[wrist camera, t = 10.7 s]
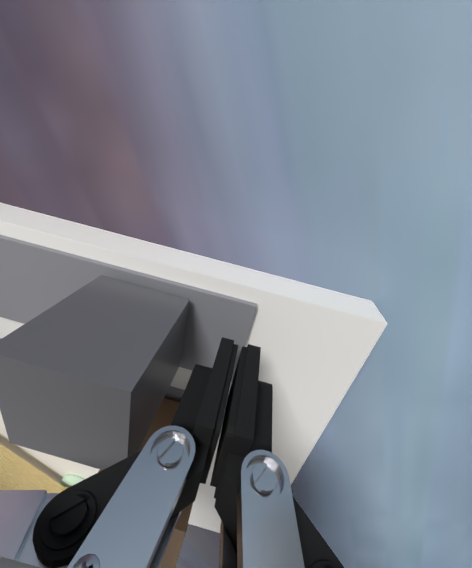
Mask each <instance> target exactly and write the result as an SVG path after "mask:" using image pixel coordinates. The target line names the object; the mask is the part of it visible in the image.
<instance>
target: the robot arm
mask: <svg viewBox="0 0 472 568" xmlns="http://www.w3.org/2000/svg"><path fill="white" fill-rule="evenodd" d="M237 350H238V345H236V344H234V340H231V339H227V338H224V337H222V339H221V342H220V345H219V348H218V352H217V355H216V358H215V361H214V365H213V368H210V367H206V366H202V365H198V364H195V366H194V368H193V371H192V373H191V376H190V378H189V381H188V383H187V386H186V388H185V391H184V393H183V396H182V398H181V401H180V403H179V406H178V408H177V411H176V413H175V416H174V418H173V421H172V423H171V426H166V427H163V428H160V429H159V430H158V431H156V432H155V433H154V434H153V435H152V436H151V437H150V438H149V440H148V441H147V443H146V445H145V446H144V448H143V449H142V450H141V451H139V452H137V453H135V454H133V455H131V456H129V457H127V458H125V459H123V460H121V461H120V462H118V463H116V464H114V465H112V466H110V467H108V468H106V469H104V470H102V471H100V472H98V473H96V474H94V475H92V476H90V477H88V478H86V479H84V480H83V481H81V482H79V483H77V484H75V485H73V486H71V487H69V488H67V489H65V490H64V491H62V492H61V493H47V491H46V490H0V568H159V566H160V563H161V561H162V558H163V556H164V553H165V551H166V548H167V546H168V543H169V541H170V538H171V536H172V534H173V531H174V529H175V526H176V524H177V521H178V519H179V516H180V514H181V511H182V510H183V509H185V508H186V507H187V506H189V505H190V504H191V503H193V502H194V501H195V499H196V495H197V492H198V488H199V484H200V483H202V484H206V480H207V477H208V473H209V470H210V467H211V463H212V460H213V456H214V453H215V449H216V446H217V443H218V439H219V436H220V439H219V444H218V449H217V454H216V458H215V463H214V468H213V473H212V478H211V483H210V486H213V487H216V489H215V494H214V498H215V499H216V500H215V506H214V507H215V509H216V511H217V513H218V515H219V517H220V518H221V525H220V551H219V568H344V567H343V565H342V564H341V563H340V561H339V560H338V558H337V557H336V556H335V554H334V553H333V552H332V550H331V549H330V547H329V546H328V545H327V543H326V542H325V540H324V539H323V538H322V536H321V535H320V533H319V532H318V531H317V529H316V528H315V527H314V525H313V524H312V522H311V521H310V520H309V518H308V517H307V515H306V514H305V513H304V511H303V510H302V509H301V507H300V506H299V504H298V503H297V502H296V500H295V499H294V497H293V496H292V491H291V485H290V479H289V475H288V472H287V469H286V467H285V466H284V464H283V462H282V461H281V460H280V459H279V458H278V457H277V456H276V455H275V454H273V453H272V402H273V386H272V384H270V383H266V382H262V381H258V378H259V366H260V353H261V347H258V346H254V345H250V344H248V345H247V347H244V346H242V349H241V352H240V356H239V359H238V363H237V366H236V370H235V373H234V377H233V380H232V384H231V379H232V375H233V370H234V365H235V360H236V355H237ZM230 384H231V387H230ZM229 389H230V391H229ZM228 394H229V395H228ZM227 399H228V400H227ZM222 423H223V424H222ZM221 428H222V429H221ZM220 432H221V434H220Z"/></svg>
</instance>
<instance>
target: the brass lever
mask: <svg viewBox="0 0 472 568" xmlns="http://www.w3.org/2000/svg"><path fill="white" fill-rule="evenodd" d="M67 488H68V487H64V486H62V485H61V484H59V483H58V482H56V481H55V480H54V479H52V478H51V477H49V476H48V475H46V474H45V473H43V472H42V471H40V470H39V469H37V468H36V467H34V466H33V465H31V464H30V463H28V462H27V461H25V460H24V459H22V458H21V457H19V456H18V455H16V454H15V453H13V452H12V451H10V450H9V449H7V448H6V447H4V446H3V445H1V444H0V490H46V491H47V493H61V492H62V491H64V490H65V489H67Z"/></svg>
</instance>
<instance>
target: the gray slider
mask: <svg viewBox="0 0 472 568" xmlns="http://www.w3.org/2000/svg"><path fill="white" fill-rule="evenodd" d="M189 303H190V299H188V298H184V297H181V296H177V295H173V294H170V293H166V292H162V291H159V290H155V289H151V288H147V287H144V286H140V285H136V284H133V283H129V282H125V281H122V280H118V279H114V278H110V277H107V276H103V275H100V276H99V277H97V278H96V279H94V280H93V281H91V282H90V283H88V284H86V285H85V286H83V287H82V288H80V289H79V290H77V291H75V292H74V293H72V294H71V295H69V296H68V297H66V298H65V299H63V300H61V301H60V302H58V303H57V304H55V305H54V306H52V307H50V308H49V309H47V310H46V311H44V312H43V313H41V314H40V315H38V316H36V317H35V318H33V319H32V320H30V321H29V322H27V323H25V324H24V325H22V326H21V327H19V328H18V329H16V330H15V331H13V332H11V333H10V334H8V335H7V336H5V337H4V338H2V339H0V411H1V414H2V418H3V421H4V425H5V428H6V432H7V435H8V439H9V442H10V443H12V444H15V445H18V446H22V447H25V448H29V449H32V450H36V451H39V452H42V453H46V454H49V455H53V456H56V457H59V458H63V459H66V460H70V461H73V462H76V463H80V464H83V465H87V466H90V467H93V468H97V469H100V470H104V469H106V468H108V467H110V466H112V465H114V464H116V463H118V462H120V461H121V460H123V459H125V458H127V457H129V456H131V455H133V454H135V453H137V452H139V450H140V447H141V445H142V443H143V441H144V439H145V437H146V435H147V433H148V431H149V429H150V426H151V424H152V422H153V420H154V418H155V416H156V414H157V412H158V410H159V408H160V405H161V403H162V401H163V399H164V397H165V395H166V393H167V391H168V389H169V387H170V385H171V382H172V380H173V378H174V376H175V374H176V372H177V370H178V368H179V363H180V357H181V351H182V345H183V339H184V333H185V327H186V321H187V315H188V309H189Z"/></svg>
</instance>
